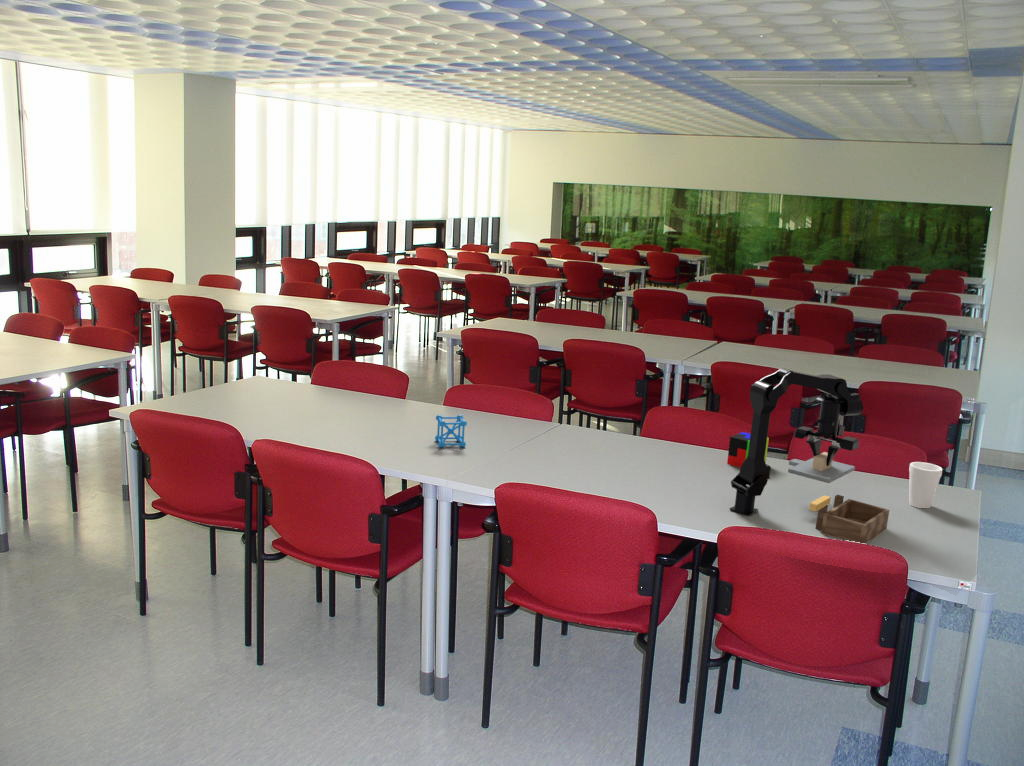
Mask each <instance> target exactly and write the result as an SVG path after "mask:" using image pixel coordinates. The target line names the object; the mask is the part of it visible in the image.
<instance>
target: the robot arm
mask: <svg viewBox="0 0 1024 766" xmlns="http://www.w3.org/2000/svg"><path fill="white" fill-rule="evenodd" d="M791 385H796V386H801V387H807V388H812V389H816V390H818V391H819V392H823V393H821V394H820V395H819V396H818V397H817V398H815V401H816V402H819V403H820V409H819V417H818V418H817V421H816V423H818V424H817V431H815V430H814V428H812V427H808V426H803V425H802V426H800V427H796V429H795V430H794V432H793V437H794V438H796V439H800V440H801V439H802V440H803V439H805V438H806V437H807V440H806V443H807V444H808V445H809V447H810V449H811V452H812V454H813V455H812V456H813V457H814V456H816V455H819V454H821V445H822V442H823V441H825V442H828V443H831V445H829V446H828V448H827V453H828V455H827V466H829V465H830V463H831V461H832V459H833V460H834V457H835V455H836V454H837V453H838V451H839V450H841V449H843V450H846V451H855V450H856V449H858V448H859V447H860V440H859V439H858V438H856V437H852V436H848V435H847V436H844V432H845V429H846V428H845V427H846V426H844V425H843V424H841V419H840V416H841V417H844V416H845V417H846V416H859V415H861V414H862V413H863V411H864V405H863V404H864V403H863V401H862V399H861V394H859V393H855V392H853V393H851V392H850V390H849V388H848V383H847V380H846V379H844V378H842V377H839V376H836V375H833V374H818V375H815V374H809V373H804V372H800V371H794V370H790V369H787V368H783V367H782V368H779V369H778V370H776V371H775V372H774V373H771V374H768V375H766V376H764V377H762V378H760V380H756V381H755V382H754V383H753V384H751V386H750V388H749V399H750V400H749V402H750V404H751V407H752V411H753V412H752V413H753V414H752V420H751V427H750V434H751V435H750V442H749V450H748V456H747V458H746V459H745V461H744V462H743V463H742V466H741V467H740V470H739V472H738V473H737V475H736V476H734V478H733V479H731V481H730V484H731V488H732V489H735V490H736V491H735V500H734V506H732V507H730V508H729V511H733V512H735V513H739V514H743V515H745V516H748V517H749V516H751V515H753V514H755V513H757V512H758V511H759V508H756V507H755V502H756V497H759V496H761V495H762V494H763V491H764V489H765V487H766V486H767V485H768V481H769V480H770V472H771V466H770V465H769V464H766V463H767V462H766V463H765V460H764V458H765V451H766V443H767V438H768V434H769V427H770V420H771V414H772V413H773V411H774V409H775V408H776V407H777V405H778V402H779V399H780V398H781V397H782V396H783V395H785V394H786V392H787V390H788V389H789V387H790V386H791ZM827 394H828V395H829V396H828V395H827ZM843 436H844V437H843Z"/></svg>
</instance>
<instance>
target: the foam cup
mask: <svg viewBox="0 0 1024 766" xmlns="http://www.w3.org/2000/svg"><path fill="white" fill-rule="evenodd" d="M908 471H909V479H908V481H909V485H908V486H909V487H908V489H909V490H908V501H909V502H908V504H909V505H910V506H911V505H912V507H913V506H914V508H916V507H917V508H918V509H921V508H929V509H931V508H930V507H932V505H933V501H934V498H935V495H936V492H937V489H938V487H939V483H940V479H941V477H942V476H943V468H942V467H941V466H939V465H938V464H937V465H936V464H934V463H930V462H922V461H913V462H910V463H909V468H908ZM917 508H916V509H917Z"/></svg>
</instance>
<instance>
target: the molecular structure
mask: <svg viewBox="0 0 1024 766" xmlns="http://www.w3.org/2000/svg"><path fill="white" fill-rule="evenodd" d="M450 419H451V420H452V419H454V420H456V421H455V422H445V420H450ZM463 419H464V416H463V414H458V415H457V416H442V414H437V415H436V416H435V421H437V430H436V431H437V432H436V433H437V434H436V435H435V436H434V439H435V441H436V442H438V443H437V446H438V448H439V449H440V448H441V449H442V448H444V447H445V446H459V447H461V448H465V447H466V445H467V443H466V441H465V427H466V426H467V424H468V422H467V420H465V419H464V420H463ZM450 425H452V427H449V426H450ZM444 428H445V429H446V430H447V431H446V432H444ZM461 428H462V429H461ZM455 430H457V431H458V432H457V433H455ZM461 430H462V431H461ZM450 435H452V436H450ZM446 440H456V441H457V442H456V443H455V442H452V443H451V442H446ZM458 442H459V443H458Z"/></svg>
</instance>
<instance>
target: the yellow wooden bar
mask: <svg viewBox="0 0 1024 766" xmlns="http://www.w3.org/2000/svg"><path fill="white" fill-rule="evenodd" d="M830 504H831V496H828V495H825V494H824V495H822V496H820V497H818V498H817V499H814V500H813V501H811V502H810V503H809V509H808V510H809V511H813V512H818V510H820V509H821V508H823V507H825V506H827V505H828V506H829V505H830Z"/></svg>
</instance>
